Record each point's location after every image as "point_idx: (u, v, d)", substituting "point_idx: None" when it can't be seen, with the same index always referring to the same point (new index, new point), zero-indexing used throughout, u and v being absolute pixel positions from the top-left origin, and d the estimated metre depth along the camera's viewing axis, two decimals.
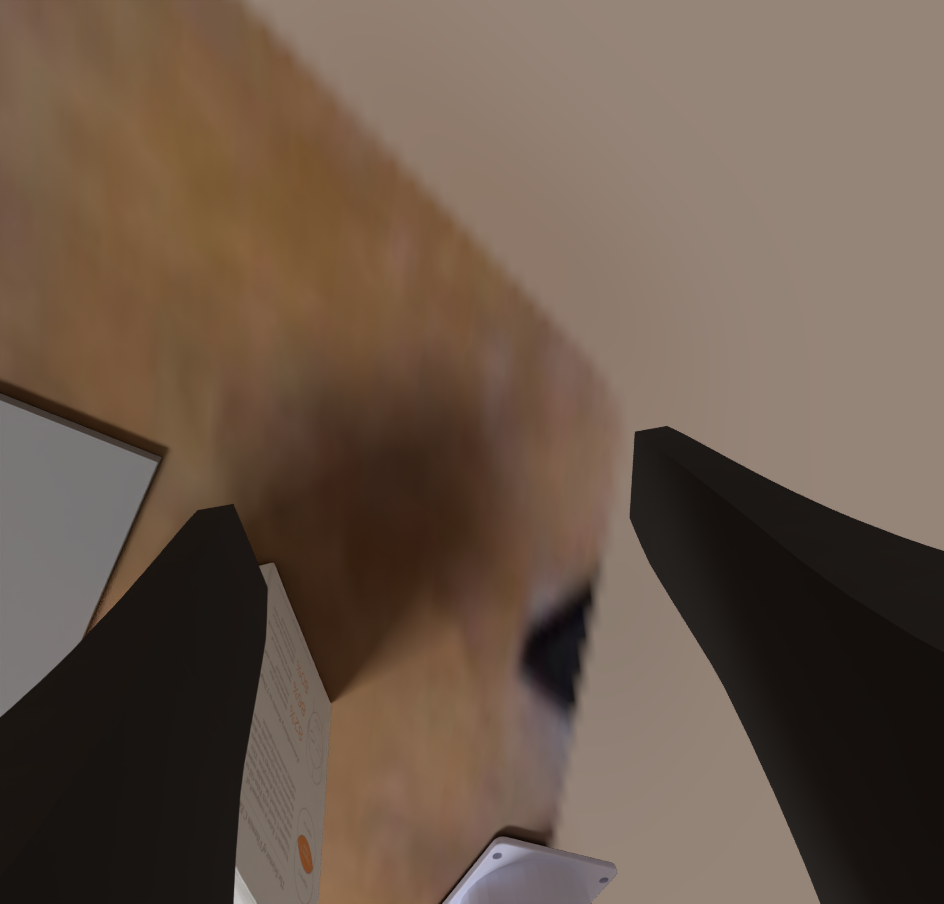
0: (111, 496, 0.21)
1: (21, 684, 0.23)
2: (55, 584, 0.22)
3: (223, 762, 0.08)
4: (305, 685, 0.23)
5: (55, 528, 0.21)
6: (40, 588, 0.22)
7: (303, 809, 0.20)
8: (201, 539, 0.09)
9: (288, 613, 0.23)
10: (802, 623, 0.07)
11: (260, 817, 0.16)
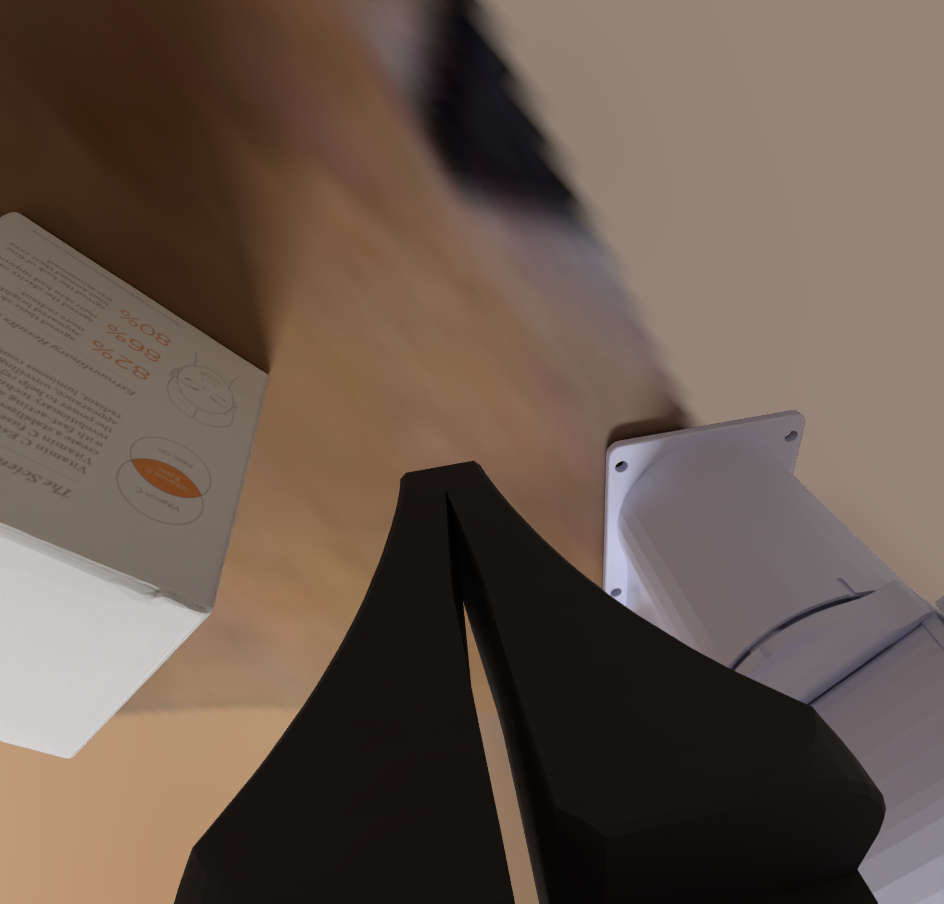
0: None
1: None
2: None
3: None
4: (158, 337, 0.17)
5: None
6: None
7: (155, 437, 0.14)
8: (433, 496, 0.09)
9: (78, 263, 0.16)
10: (506, 686, 0.07)
11: None
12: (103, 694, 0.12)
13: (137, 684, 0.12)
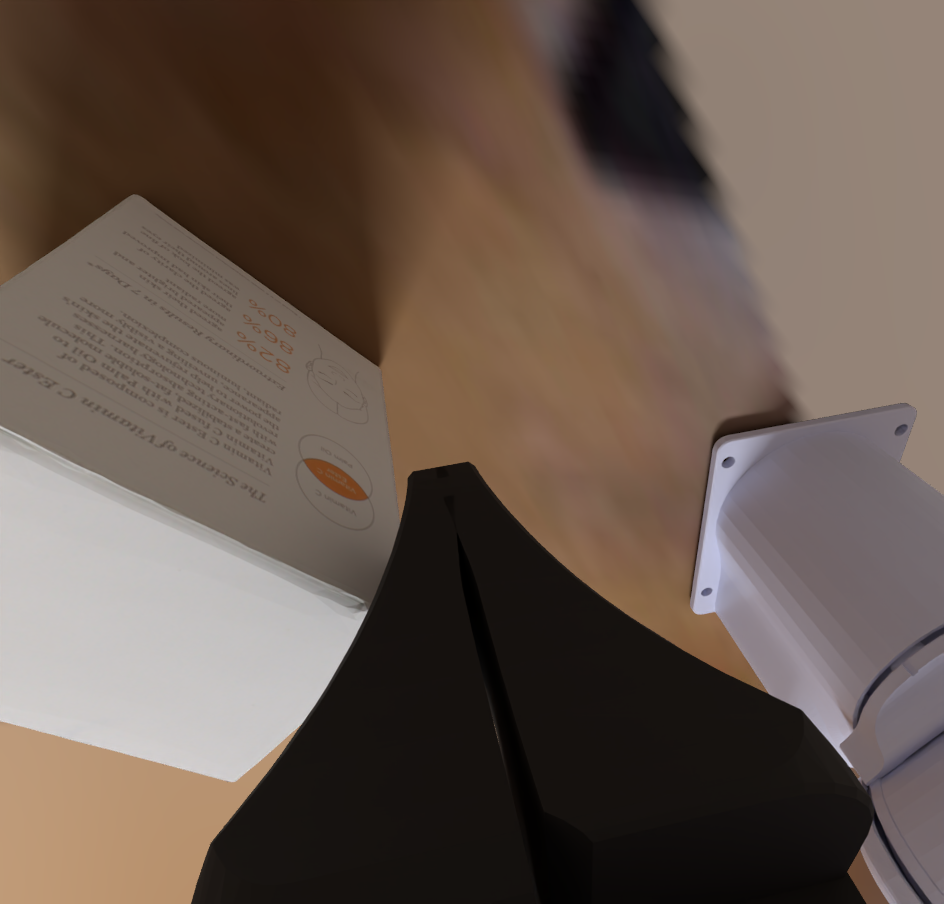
0: None
1: None
2: None
3: None
4: (285, 328, 0.16)
5: None
6: None
7: (314, 435, 0.13)
8: (440, 495, 0.09)
9: (202, 249, 0.15)
10: (498, 688, 0.07)
11: (139, 409, 0.09)
12: (285, 714, 0.11)
13: None
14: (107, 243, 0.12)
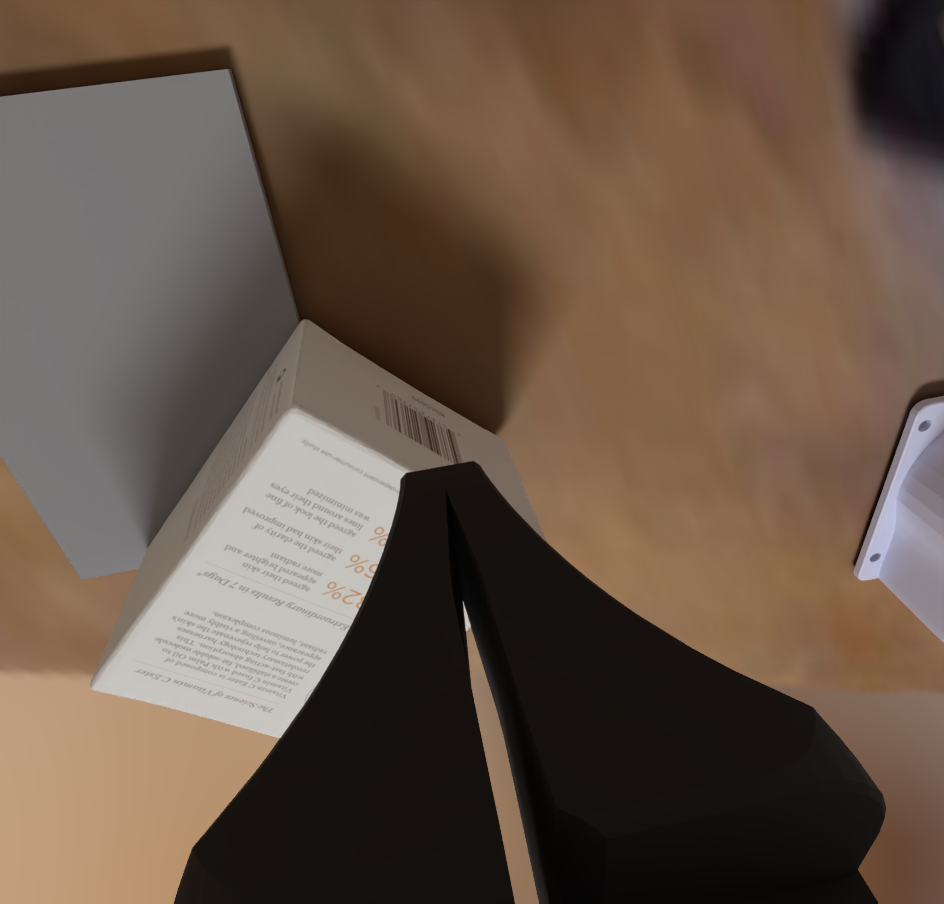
0: (216, 163, 0.15)
1: None
2: (245, 328, 0.17)
3: None
4: None
5: (193, 251, 0.16)
6: (234, 342, 0.17)
7: None
8: (432, 496, 0.09)
9: (346, 473, 0.14)
10: (506, 686, 0.07)
11: (207, 678, 0.17)
12: None
13: None
14: (221, 537, 0.14)
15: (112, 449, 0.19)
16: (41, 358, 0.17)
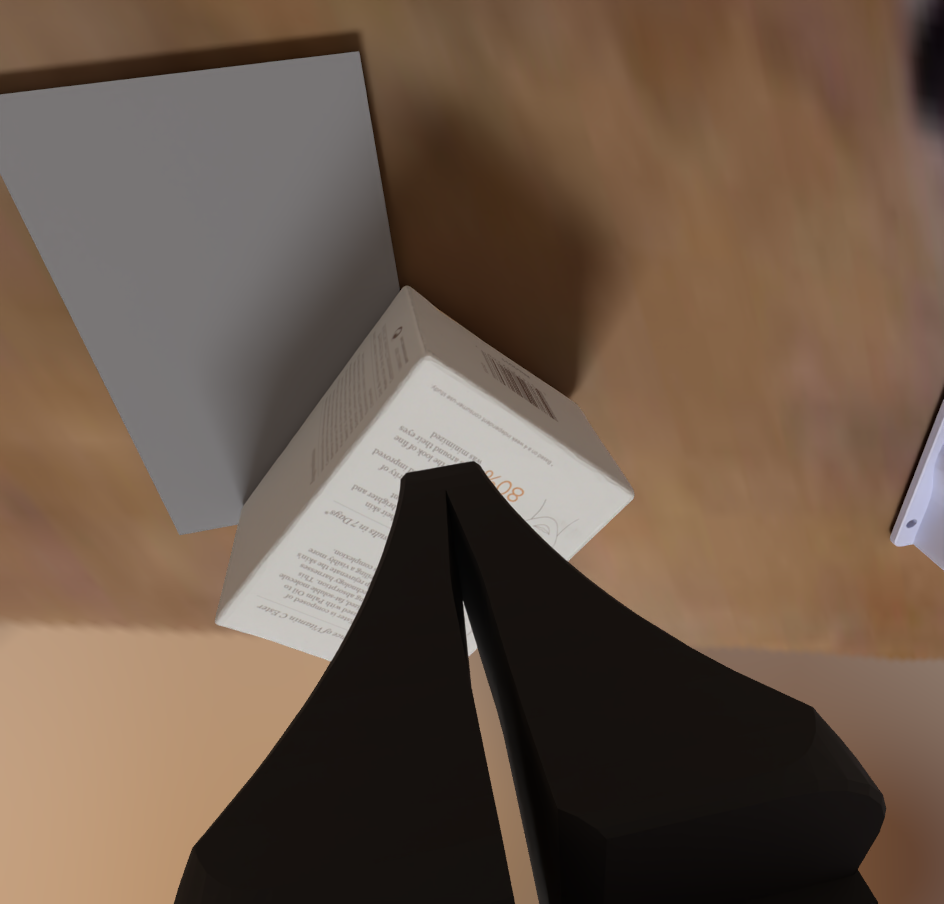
0: (340, 138, 0.16)
1: None
2: (351, 293, 0.19)
3: None
4: (511, 493, 0.17)
5: (312, 220, 0.17)
6: (341, 307, 0.19)
7: None
8: (433, 496, 0.09)
9: (467, 418, 0.15)
10: (506, 686, 0.07)
11: (319, 615, 0.18)
12: None
13: None
14: (350, 478, 0.16)
15: (220, 408, 0.20)
16: (166, 320, 0.18)
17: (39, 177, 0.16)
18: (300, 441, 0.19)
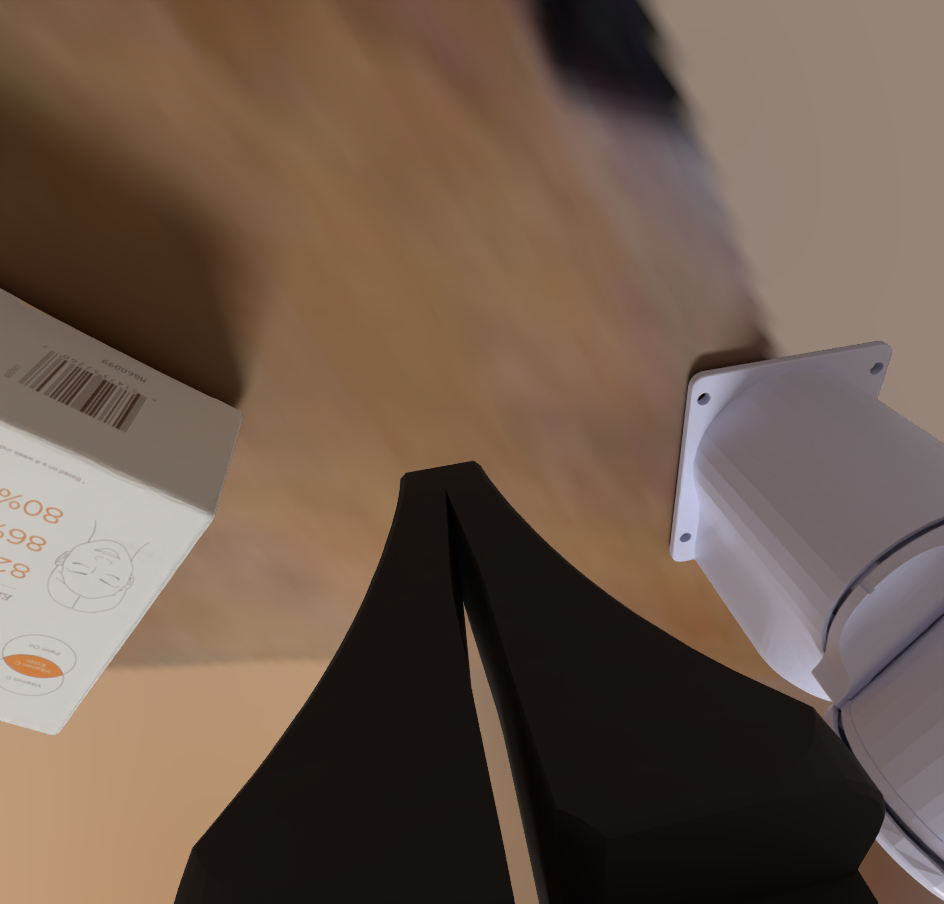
0: None
1: None
2: None
3: None
4: (46, 514, 0.15)
5: None
6: None
7: (27, 635, 0.17)
8: (433, 496, 0.09)
9: None
10: (506, 686, 0.07)
11: None
12: None
13: None
14: None
15: None
16: None
17: None
18: None
